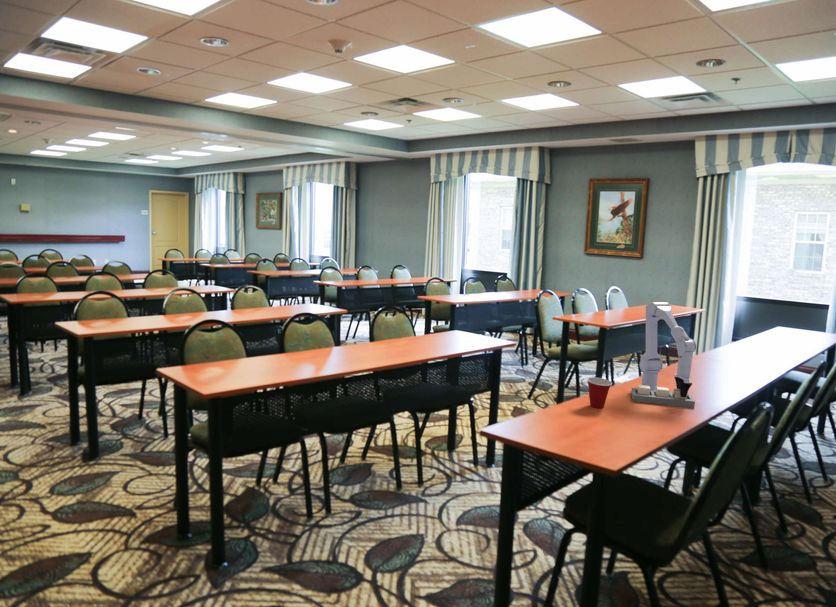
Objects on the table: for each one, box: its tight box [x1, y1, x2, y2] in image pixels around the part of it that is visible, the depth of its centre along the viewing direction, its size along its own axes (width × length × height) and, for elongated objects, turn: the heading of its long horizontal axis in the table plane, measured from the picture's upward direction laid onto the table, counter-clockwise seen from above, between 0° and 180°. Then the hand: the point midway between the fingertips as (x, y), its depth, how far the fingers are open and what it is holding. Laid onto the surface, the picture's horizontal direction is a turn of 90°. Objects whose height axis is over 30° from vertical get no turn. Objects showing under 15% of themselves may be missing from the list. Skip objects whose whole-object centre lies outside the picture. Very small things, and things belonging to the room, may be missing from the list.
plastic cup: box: [586, 376, 613, 409], centre depth 267 cm, size 11×11×12 cm
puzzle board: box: [630, 384, 696, 409], centre depth 280 cm, size 13×26×6 cm, turn 74°
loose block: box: [672, 388, 689, 399], centre depth 278 cm, size 5×5×5 cm
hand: (681, 394), depth 278 cm, fingers open, 7 cm apart
